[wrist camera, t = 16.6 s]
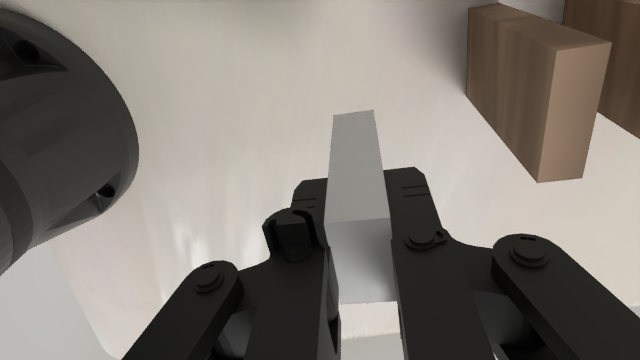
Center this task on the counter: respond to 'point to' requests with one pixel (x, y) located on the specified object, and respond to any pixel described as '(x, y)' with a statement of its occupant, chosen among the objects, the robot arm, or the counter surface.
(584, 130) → the domino
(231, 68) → the counter surface
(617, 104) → the domino
